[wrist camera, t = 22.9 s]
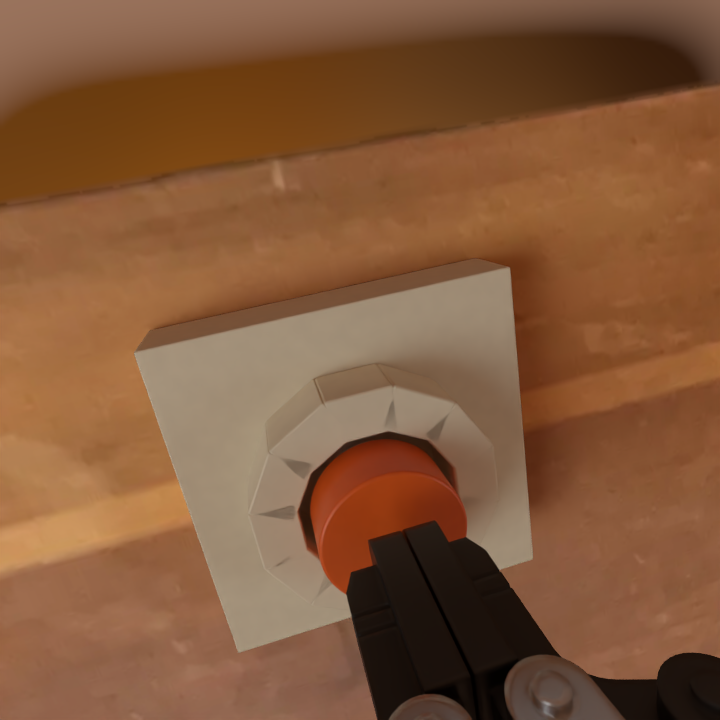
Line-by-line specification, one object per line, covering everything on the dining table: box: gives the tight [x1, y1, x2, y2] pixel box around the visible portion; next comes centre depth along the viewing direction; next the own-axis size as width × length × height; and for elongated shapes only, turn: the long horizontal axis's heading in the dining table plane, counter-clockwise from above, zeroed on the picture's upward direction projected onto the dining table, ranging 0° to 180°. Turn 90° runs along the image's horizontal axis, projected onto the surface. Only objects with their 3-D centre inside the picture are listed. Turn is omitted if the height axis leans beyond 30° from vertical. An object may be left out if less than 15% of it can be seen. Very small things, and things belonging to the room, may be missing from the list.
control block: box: [134, 258, 533, 652], centre depth 15 cm, size 10×10×4 cm
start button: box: [310, 439, 467, 594], centre depth 13 cm, size 4×4×2 cm
